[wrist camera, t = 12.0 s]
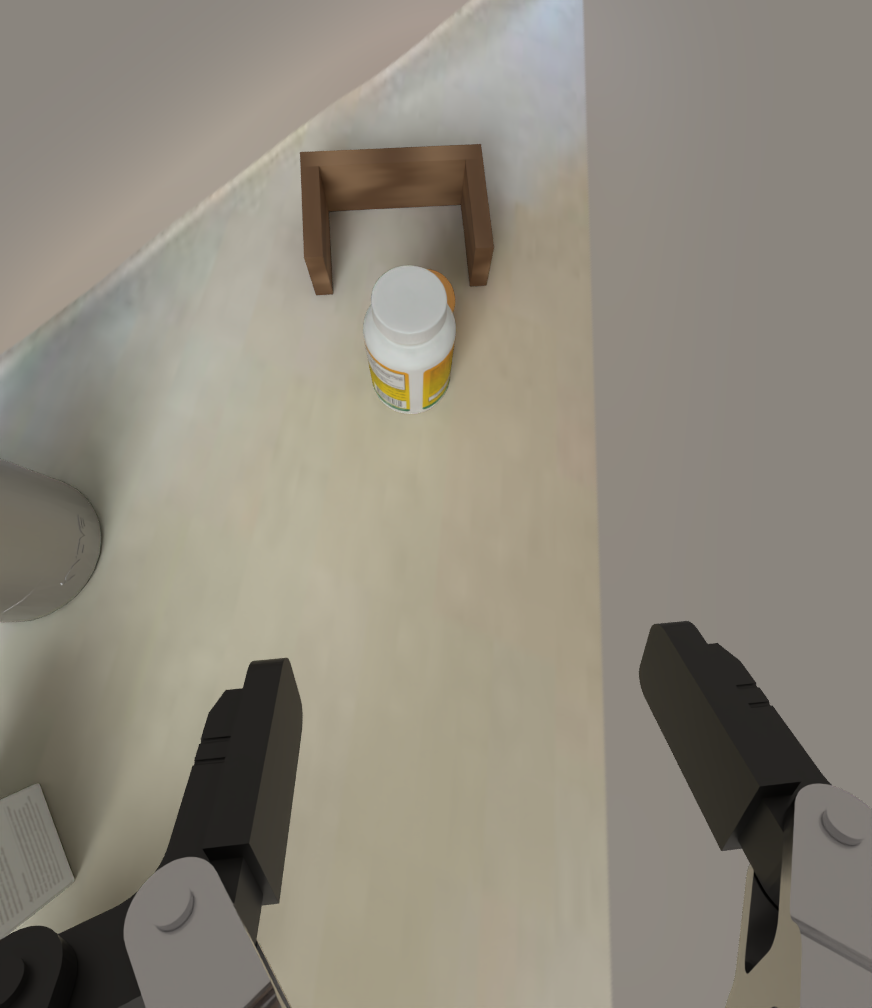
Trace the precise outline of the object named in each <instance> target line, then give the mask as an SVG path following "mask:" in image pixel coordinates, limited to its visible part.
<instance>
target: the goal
mask: <svg viewBox="0 0 872 1008" xmlns="http://www.w3.org/2000/svg"><path fill="white" fill-rule="evenodd" d="M300 162H301V188H302V214H303V240H304V259H305V262H306V265H307V268H308V271H309V274H310V277H311V281H312V284H313V287H314V290H315V293H316V295H327V294H333V286H332V267H331V247H330V227H329V211H344V210H364V209H384V208H404V207H424V206H444V205H461V210H462V219H463V228H464V237H465V246H466V255H467V264H468V273H469V281H470V286H483V285H486V284H487V279H488V274H489V269H490V264H491V259H492V254H493V249H494V244H493V236H492V228H491V220H490V212H489V204H488V197H487V189H486V181H485V173H484V165H483V157H482V149H481V144H473V145H450V146H428V147H405V148H383V149H360V150H338V151H315V152H300Z"/></svg>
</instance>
